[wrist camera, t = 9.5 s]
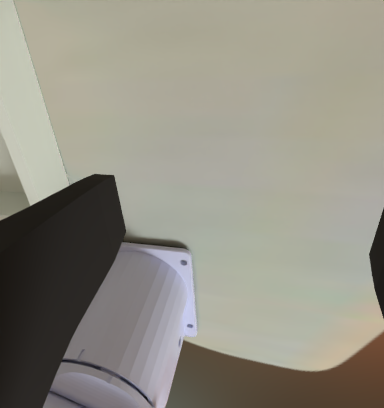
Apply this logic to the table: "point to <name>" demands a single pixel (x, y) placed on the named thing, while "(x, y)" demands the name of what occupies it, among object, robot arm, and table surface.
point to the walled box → (23, 125)
